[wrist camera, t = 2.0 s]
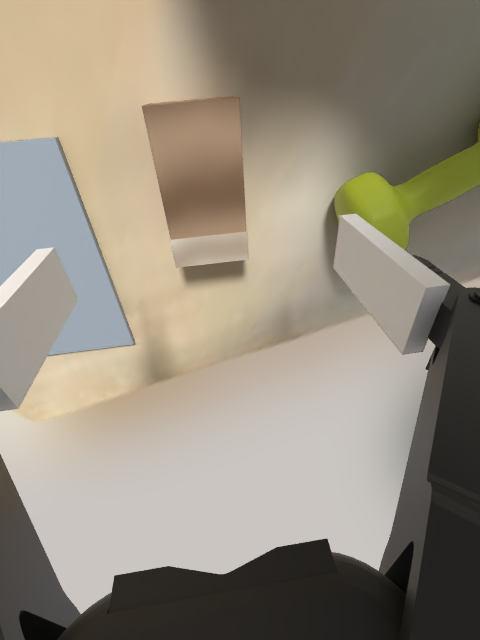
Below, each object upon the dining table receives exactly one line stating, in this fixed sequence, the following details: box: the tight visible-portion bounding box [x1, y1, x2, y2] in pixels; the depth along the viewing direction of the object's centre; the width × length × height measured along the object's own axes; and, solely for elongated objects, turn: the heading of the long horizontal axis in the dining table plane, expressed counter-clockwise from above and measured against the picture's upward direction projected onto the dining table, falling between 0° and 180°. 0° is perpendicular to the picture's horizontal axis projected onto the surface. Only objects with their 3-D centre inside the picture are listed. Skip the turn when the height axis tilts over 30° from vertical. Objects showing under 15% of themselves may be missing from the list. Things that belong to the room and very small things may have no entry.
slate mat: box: [0, 137, 134, 355], centre depth 28 cm, size 20×14×1 cm
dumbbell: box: [334, 123, 480, 250], centre depth 24 cm, size 16×8×7 cm, turn 117°
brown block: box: [142, 96, 249, 268], centre depth 24 cm, size 11×6×4 cm, turn 4°
